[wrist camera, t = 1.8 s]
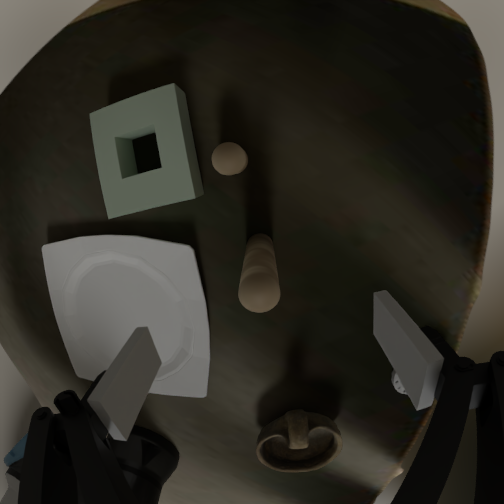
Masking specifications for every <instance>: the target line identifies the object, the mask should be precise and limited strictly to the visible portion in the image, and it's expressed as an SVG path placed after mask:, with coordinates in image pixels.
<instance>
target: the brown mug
mask: <svg viewBox="0 0 504 504" xmlns="http://www.w3.org/2000/svg"><path fill="white" fill-rule="evenodd" d="M341 450H342V437H341V434H340V431H339V430H338V428H337V425H336V424H335V423H334V421H332V420H331V419H330V418H328V417H327V416H324V415H322V414H318V413H314V412H305V411H304V410H302V409H296V410H290V411H288V412H286V413H285V415H284V416H282V417H280V418H278V419H276V420H274V421H272V422H271V423H269V424H268V425H266V426H265V427H264V428H263V429H262V430H261V432H260V434H259V436H258V439H257V448H256V454H257V457H258V459H259V460H260V461H261V462H262V463H263V464H264V465H266V466H268V467H270V468H272V469H274V470H277V471H282V472H306V471H311V470H316V469H319V468H321V467H323V466H325V465H326V464H328V463H329V462H330V461H332V460H333V459H334V458H336V457H337V456H338V455H339V454H340V452H341Z"/></svg>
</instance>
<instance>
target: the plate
mask: <svg viewBox="0 0 504 504" xmlns="http://www.w3.org/2000/svg"><path fill="white" fill-rule="evenodd" d="M42 255H43V261H44V267H45V273H46V279H47V284H48V289H49V293H50V298H51V302H52V306H53V310H54V314H55V317H56V321H57V324H58V327H59V330H60V333H61V336H62V339H63V342H64V345H65V348H66V350H67V353H68V355H69V358H70V361H71V363H72V366H73V368H74V370H75V373H76V375H77V376H78V377H80V378H84V379H87V380H91V381H94V380H95V379H96V377H97V376H98V375H99V374H100V373H102V372H103V371H104V370H107V369H108V368H109V366H110V365H111V363H112V362H113V360H114V359H115V357H116V356H117V355H118V353H119V352H120V350H121V349H122V347H123V346H124V345H125V343H126V342H127V340H128V339H129V337H130V336H131V335H132V333H133V332H134V330H135V329H136V328H137V327H146V326H148V329H149V332H150V334H151V337H152V339H153V342H154V345H155V347H156V350H157V352H158V355H159V357H160V359H161V362H162V364H161V366H160V368H159V370H158V373H157V375H156V377H155V379H154V381H153V383H152V385H151V388H150V390H149V392H148V393H155V394H163V395H173V396H185V397H200V398H204V397H205V396H206V395H207V387H208V376H209V365H210V330H209V322H208V314H207V306H206V299H205V295H204V291H203V287H202V283H201V278H200V274H199V270H198V265H197V261H196V256H195V251H194V249H193V248H192V247H191V246H190V245H187V244H181V243H175V242H170V241H164V240H158V239H153V238H147V237H142V236H134V235H92V236H80V237H76V238H71V239H67V240H62V241H58V242H53V243H49V244H45V245H43V247H42Z"/></svg>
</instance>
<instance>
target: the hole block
mask: <svg viewBox="0 0 504 504" xmlns="http://www.w3.org/2000/svg"><path fill="white" fill-rule="evenodd" d="M90 121H91V129H92V136H93V143H94V150H95V156H96V162H97V167H98V173H99V178H100V183H101V188H102V192H103V197H104V202H105V206H106V210H107V215H108V219H111V218H115V217H118V216H122V215H126V214H130V213H134V212H138V211H142V210H146V209H150V208H154V207H159V206H163V205H167V204H171V203H176V202H180V201H185V200H189V199H194V198H197V197H199V196H201V195H203V194H204V190H203V185H202V181H201V176H200V171H199V166H198V160H197V155H196V150H195V145H194V140H193V134H192V129H191V124H190V118H189V112H188V107H187V101H186V95H185V93H184V92H183V91H182V90H181V89H180V88H179V87H178V86H177V85H176V84H175V83H172V84H169V85H166V86H162V87H159V88H156V89H153V90H150V91H147V92H144V93H141V94H138V95H135V96H133V97H130V98H127V99H125V100H122V101H119V102H117V103H114V104H112V105H109V106H107V107H104V108H102V109H100V110H97V111H95V112H93V113H91V114H90ZM152 133H156V138H157V144H158V149H159V155H160V160H161V165H162V168H159V169H155V170H151V171H148V172H144V173H141V174H138V170H137V165H136V160H135V155H134V149H133V143H132V140H133V139H136V138H139V137H142V136H145V135H149V134H152Z"/></svg>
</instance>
